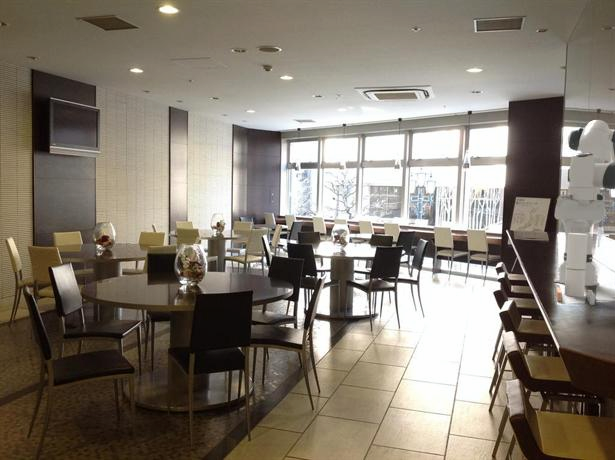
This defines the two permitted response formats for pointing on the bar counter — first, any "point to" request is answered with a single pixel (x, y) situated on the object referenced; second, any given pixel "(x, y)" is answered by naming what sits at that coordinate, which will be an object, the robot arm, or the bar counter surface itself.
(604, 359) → the bar counter surface
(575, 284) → the white tall box
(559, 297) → the sliding jaw
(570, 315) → the bar counter surface
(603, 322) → the bar counter surface
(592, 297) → the vise fixed jaw
